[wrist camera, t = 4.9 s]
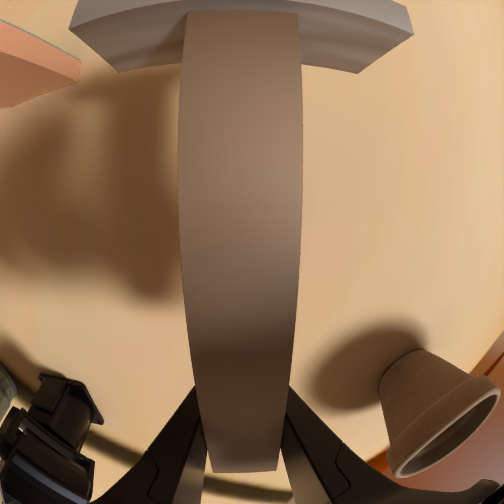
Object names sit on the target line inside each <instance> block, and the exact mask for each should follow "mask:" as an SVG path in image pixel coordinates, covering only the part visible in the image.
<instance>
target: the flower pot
mask: <svg viewBox="0 0 504 504" xmlns="http://www.w3.org/2000/svg"><path fill="white" fill-rule="evenodd" d="M379 394H380V400H381V405H382V410H383V415H384V419H385V423H386V427H387V432H388V436H389V441H390V447H389V449H388V451H387V454H386V460H387V462H388V464H389V466H390V468H391V470H392V474H393V475H394V476H395V477H396V478H406V477H409V476H412V475H415V474H417V473H419V472H422V471H424V470H426V469H428V468H429V467H431V466H433V465H434V464H436V463H438V462H439V461H441V460H442V459H444V458H445V457H447V456H448V455H449V454H451V453H452V452H453V451H455V450H456V449H457V448H458V447H460V446H461V445H462V444H463V443H464V442H465V441H466V440H468V439H469V438H470V437H471V436H472V435H473V434H474V433H475V432H476V431H477V429H479V427H480V426H481V425H482V424H483V423H484V422H485V420H486V419H487V418H488V417H489V415H490V414H491V412H492V411H493V409H494V408H495V406H496V404H497V403H498V400H499V397H500V394H501V390H500V388H499V387H498V386H497V385H495V384H494V383H493V382H492V381H491V380H490V379H489V378H488V377H487V376H485V375H479V376H475V377H472V376H471V375H469V374H467V373H466V372H464V371H462V370H461V369H459V368H457V367H456V366H454V365H452V364H451V363H449V362H447V361H445V360H444V359H442V358H440V357H438V356H436V355H434V354H432V353H430V352H428V351H426V350H416V351H413V352H410V353H408V354H406V355H405V356H403V357H401V358H400V359H399V360H397V361H396V362H395V363H394V364H393V365H392V366H391V367H390V368H389V369H388V370H387V371H386V373H385V374H384V376H383V377H382V379H381V381H380V384H379Z"/></svg>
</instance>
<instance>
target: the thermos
mask: <svg viewBox="0 0 504 504" xmlns="http://www.w3.org/2000/svg"><path fill="white" fill-rule="evenodd" d="M16 393H17V390H16V386H15V384H14V382H13V380H12V378H11V377H10V375H9V373H8V372H7V371H6V369H5V368H4V367H3V365H2V364H1V363H0V421H1V420H2V418H3V416H4V415H5V413H6V411H7V410H8V408H9V406H10V402H11V400H12V399H13V398H14V397H15V395H16Z"/></svg>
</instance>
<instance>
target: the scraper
mask: <svg viewBox="0 0 504 504" xmlns="http://www.w3.org/2000/svg"><path fill="white" fill-rule="evenodd" d="M69 30H70V31H71V32H73V33H74V34H75V35H76V36H78V37H79V38H80V39H81V40H82V41H83V42H85V43H86V44H87V45H88V46H89V47H91V48H92V49H93V50H94V51H95V52H96V53H98V54H99V55H100V56H101V57H102V58H103V59H104V60H106V61H107V62H108V63H109V64H110V65H111V66H112V67H114V68H115V69H116V70H117V71H118V72H123V71H128V70H133V69H138V68H144V67H150V66H157V65H165V64H173V63H182V68H181V81H180V97H179V118H178V215H179V238H180V255H181V269H182V282H183V293H184V304H185V313H186V322H187V331H188V339H189V347H190V354H191V361H192V368H193V375H194V381H195V387H196V393H197V399H198V405H199V410H200V415H201V421H202V426H203V431H204V435H205V440H206V445H207V449H208V454H209V458H210V462H211V467H212V471H213V473H250V472H266V471H276V470H277V464H278V458H279V452H280V446H281V439H282V433H283V426H284V419H285V412H286V404H287V397H288V388H289V380H290V371H291V362H292V353H293V343H294V332H295V321H296V309H297V296H298V281H299V265H300V247H301V224H302V192H303V104H302V74H301V64H303V65H311V66H318V67H324V68H330V69H336V70H341V71H346V72H351V73H355V74H358V73H360V72H361V71H362V70H364V69H365V68H366V67H368V66H369V65H370V64H372V63H373V62H375V61H376V60H377V59H379V58H380V57H382V56H383V55H384V54H386V53H387V52H389V51H390V50H392V49H393V48H394V47H396V46H397V45H399V44H400V43H402V42H403V41H405V40H406V39H408V38H409V37H411V36H413V35H414V32H413V28H412V24H411V21H410V18H409V14H408V11H407V8H406V6H403V5H401V4H399V3H396V2H394V1H391V0H79V1H78V3H77V6H76V8H75V11H74V14H73V17H72V19H71V22H70V25H69Z"/></svg>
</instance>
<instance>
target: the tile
mask: <svg viewBox="0 0 504 504" xmlns="http://www.w3.org/2000/svg"><path fill="white" fill-rule="evenodd" d="M80 65H81V61H79V59H77V58H76V57H74V56H72V55H70V54H69V53H67V52H65V51H63V50H61V49H60V48H58V47H56V46H54V45H52V44H50V43H49V42H47V41H45V40H43V39H41V38H39V37H37V36H35V35H33V34H31V33H29V32H27V31H25V30H23V29H21V28H19V27H17V26H15V25H12V24H10V23H8V22H6V21H4V20H1V19H0V106H7V107H14V106H16V105H18V104H20V103H23V102H25V101H27V100H29V99H32V98H34V97H36V96H39V95H41V94H44V93H46V92H49V91H52V90H54V89H57V88H60V87H63V86H66V85H69V84H72V83H75V82H78V79H79V71H80Z"/></svg>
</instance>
